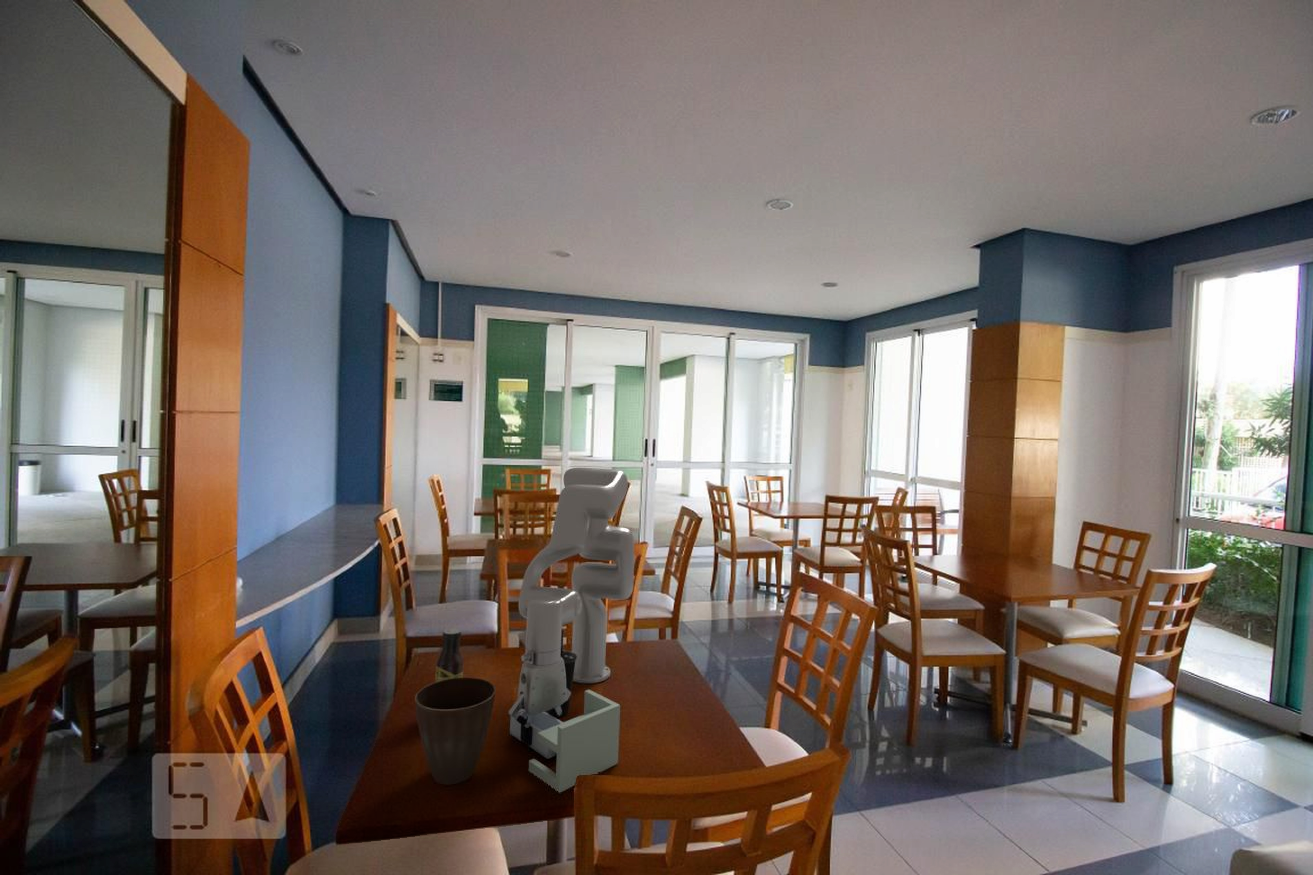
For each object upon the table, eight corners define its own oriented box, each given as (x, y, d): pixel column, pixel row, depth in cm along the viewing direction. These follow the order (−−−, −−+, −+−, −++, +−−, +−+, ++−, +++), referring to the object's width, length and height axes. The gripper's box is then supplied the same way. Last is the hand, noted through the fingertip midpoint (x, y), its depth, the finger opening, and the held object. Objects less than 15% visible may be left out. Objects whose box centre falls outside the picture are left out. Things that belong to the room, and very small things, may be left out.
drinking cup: (581, 713, 142) (584, 630, 142) (555, 723, 136) (559, 637, 136) (561, 702, 147) (564, 623, 147) (536, 712, 141) (539, 629, 141)
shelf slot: (528, 770, 116) (531, 710, 116) (586, 744, 127) (589, 689, 127) (559, 792, 109) (561, 728, 110) (617, 763, 120) (620, 704, 120)
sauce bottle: (428, 713, 139) (431, 629, 139) (452, 705, 143) (456, 624, 143) (441, 722, 134) (445, 636, 134) (466, 714, 139) (469, 630, 139)
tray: (570, 748, 124) (571, 727, 124) (547, 758, 120) (548, 736, 120) (532, 724, 134) (533, 704, 134) (509, 733, 129) (510, 713, 129)
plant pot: (411, 804, 104) (415, 714, 105) (410, 761, 118) (414, 682, 118) (497, 787, 110) (500, 702, 110) (486, 748, 124) (490, 673, 124)
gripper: (518, 670, 118) (515, 759, 118) (584, 650, 131) (581, 730, 130) (498, 659, 123) (495, 744, 123) (564, 641, 136) (561, 718, 136)
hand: (539, 736), depth 127 cm, fingers open, 6 cm apart
